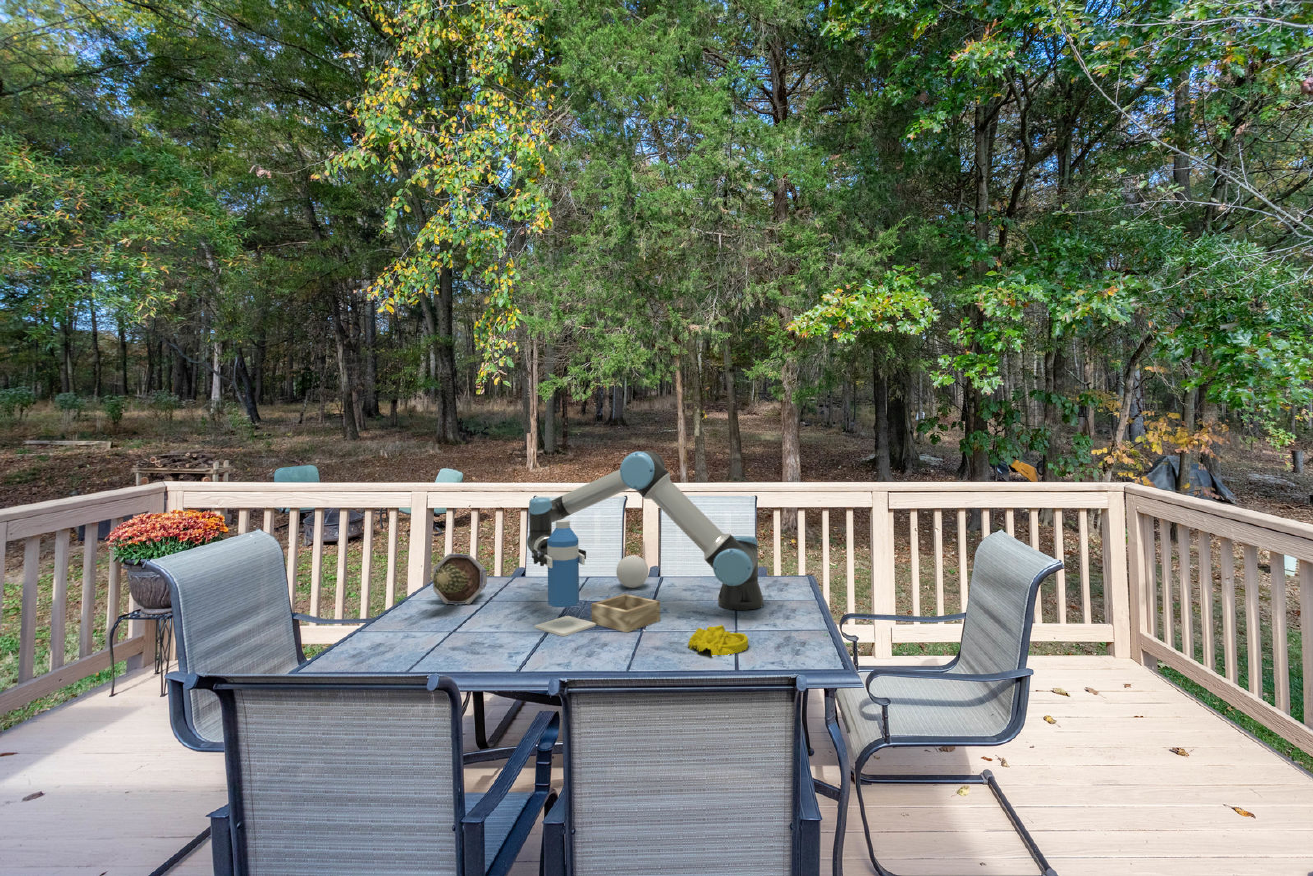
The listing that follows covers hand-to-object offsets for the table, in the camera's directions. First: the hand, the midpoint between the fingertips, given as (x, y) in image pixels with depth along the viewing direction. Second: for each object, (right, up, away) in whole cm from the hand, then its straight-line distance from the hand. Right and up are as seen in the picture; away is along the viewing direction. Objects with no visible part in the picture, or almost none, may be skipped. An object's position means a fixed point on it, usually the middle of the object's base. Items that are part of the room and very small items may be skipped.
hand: (567, 561), depth 194 cm
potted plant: (-42, -21, +31) cm, 56 cm away
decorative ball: (+17, -20, +52) cm, 58 cm away
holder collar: (+17, -20, +9) cm, 28 cm away
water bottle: (-2, -14, +4) cm, 14 cm away
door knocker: (+43, -21, -14) cm, 50 cm away
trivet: (-1, -21, +4) cm, 21 cm away
